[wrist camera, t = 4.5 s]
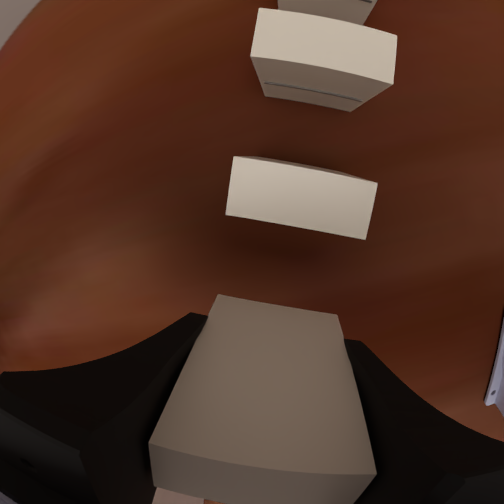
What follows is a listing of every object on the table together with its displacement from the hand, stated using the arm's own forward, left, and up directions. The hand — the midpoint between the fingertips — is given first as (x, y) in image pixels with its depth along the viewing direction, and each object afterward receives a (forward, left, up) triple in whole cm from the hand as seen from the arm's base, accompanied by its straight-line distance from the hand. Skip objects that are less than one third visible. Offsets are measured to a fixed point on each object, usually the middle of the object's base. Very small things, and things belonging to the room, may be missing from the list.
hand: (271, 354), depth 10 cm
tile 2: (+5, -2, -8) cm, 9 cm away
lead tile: (0, 0, -2) cm, 2 cm away
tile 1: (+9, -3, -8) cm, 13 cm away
